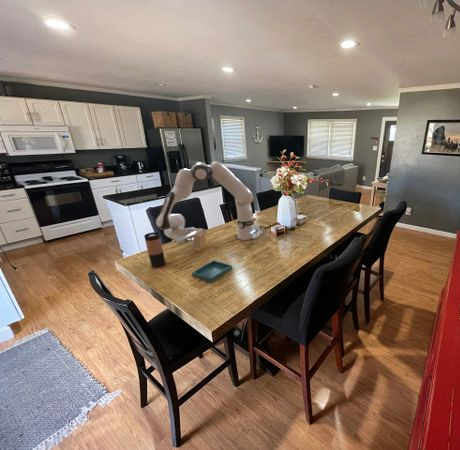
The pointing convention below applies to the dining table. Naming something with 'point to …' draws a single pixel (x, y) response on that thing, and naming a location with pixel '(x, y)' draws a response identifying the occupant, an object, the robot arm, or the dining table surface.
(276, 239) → the dining table surface
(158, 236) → the travel mug
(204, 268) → the tray
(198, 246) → the supplement box
